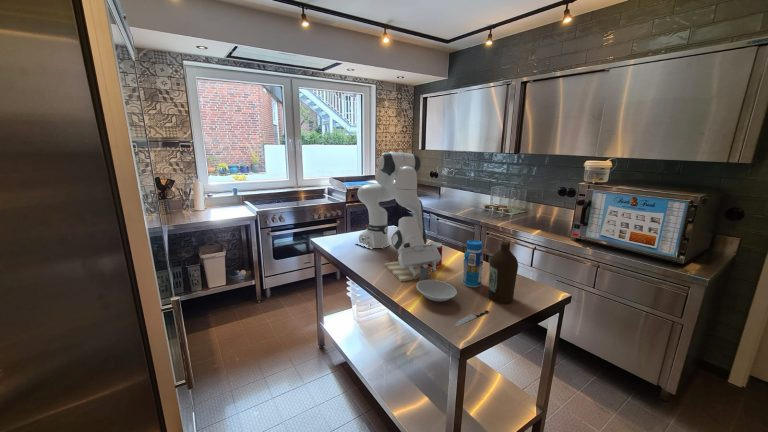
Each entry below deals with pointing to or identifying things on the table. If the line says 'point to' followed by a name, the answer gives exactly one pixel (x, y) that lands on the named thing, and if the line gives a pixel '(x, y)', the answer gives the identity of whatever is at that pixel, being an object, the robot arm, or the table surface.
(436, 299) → the dish
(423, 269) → the dark grey cylinder
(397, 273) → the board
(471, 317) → the chef's knife
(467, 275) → the beverage bottle
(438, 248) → the canned food
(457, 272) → the table surface
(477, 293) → the table surface
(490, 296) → the olive oil
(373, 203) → the robot arm
